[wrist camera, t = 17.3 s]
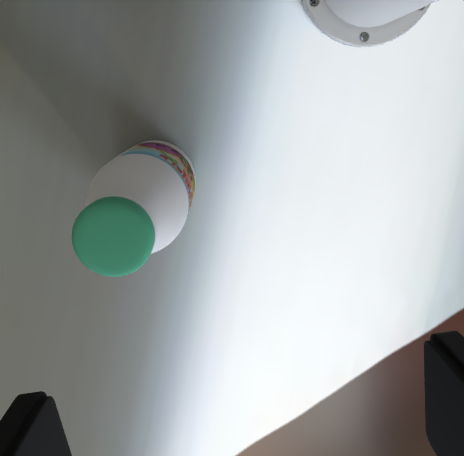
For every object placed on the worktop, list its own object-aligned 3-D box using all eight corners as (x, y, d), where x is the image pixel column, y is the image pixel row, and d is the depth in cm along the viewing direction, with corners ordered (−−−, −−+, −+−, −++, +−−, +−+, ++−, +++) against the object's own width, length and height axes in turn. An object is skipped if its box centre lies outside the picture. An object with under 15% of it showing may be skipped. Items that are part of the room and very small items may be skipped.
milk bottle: (151, 229, 45) (101, 327, 26) (102, 169, 43) (11, 226, 24) (211, 187, 44) (207, 256, 25) (164, 123, 42) (120, 144, 23)
